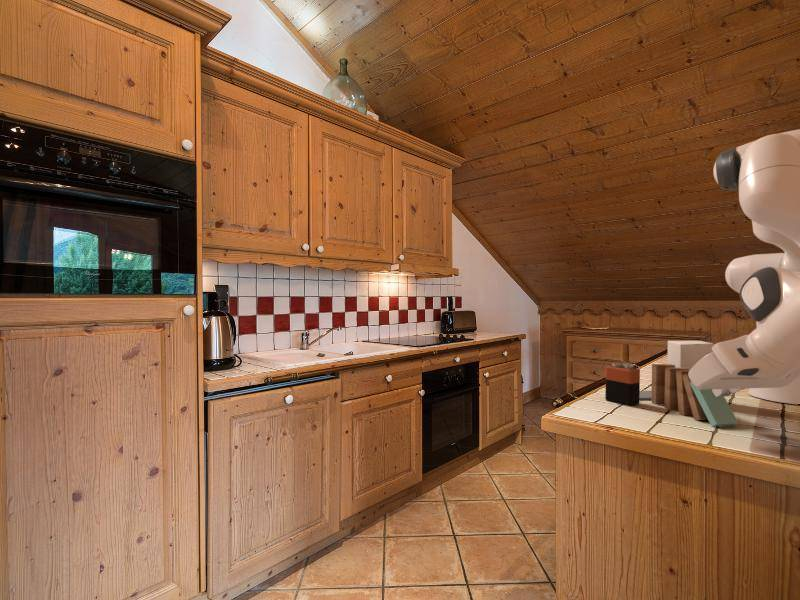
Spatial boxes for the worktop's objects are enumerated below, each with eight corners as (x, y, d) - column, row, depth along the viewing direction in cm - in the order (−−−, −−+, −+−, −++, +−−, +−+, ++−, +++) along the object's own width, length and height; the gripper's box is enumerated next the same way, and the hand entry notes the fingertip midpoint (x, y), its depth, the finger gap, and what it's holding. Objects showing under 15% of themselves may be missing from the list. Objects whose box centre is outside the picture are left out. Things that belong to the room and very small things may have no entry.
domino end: (733, 425, 86) (709, 382, 92) (738, 423, 85) (714, 379, 90) (711, 426, 85) (689, 382, 91) (716, 424, 84) (694, 379, 90)
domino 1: (669, 402, 104) (670, 363, 103) (674, 404, 102) (675, 365, 102) (651, 403, 103) (652, 364, 103) (655, 404, 102) (656, 365, 101)
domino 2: (683, 407, 99) (684, 367, 99) (688, 409, 98) (689, 368, 97) (664, 408, 99) (665, 367, 99) (669, 410, 97) (670, 368, 97)
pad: (650, 392, 114) (650, 390, 114) (668, 399, 107) (668, 397, 107) (620, 393, 113) (620, 391, 113) (636, 400, 106) (637, 397, 106)
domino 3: (698, 413, 95) (695, 370, 96) (704, 414, 93) (701, 370, 94) (678, 413, 94) (675, 370, 95) (684, 415, 93) (681, 371, 94)
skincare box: (698, 397, 108) (699, 340, 108) (714, 404, 102) (716, 343, 101) (665, 396, 109) (666, 339, 109) (679, 403, 103) (680, 342, 102)
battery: (630, 406, 100) (631, 366, 100) (604, 400, 106) (605, 362, 105) (640, 404, 102) (640, 365, 102) (614, 398, 108) (614, 361, 108)
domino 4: (715, 419, 90) (701, 374, 94) (720, 418, 89) (706, 373, 92) (694, 419, 90) (681, 375, 93) (699, 419, 88) (686, 373, 92)
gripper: (803, 341, 79) (754, 379, 89) (707, 343, 78) (668, 381, 88) (828, 368, 75) (774, 405, 85) (728, 370, 73) (684, 408, 83)
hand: (719, 393), depth 86 cm, fingers closed
